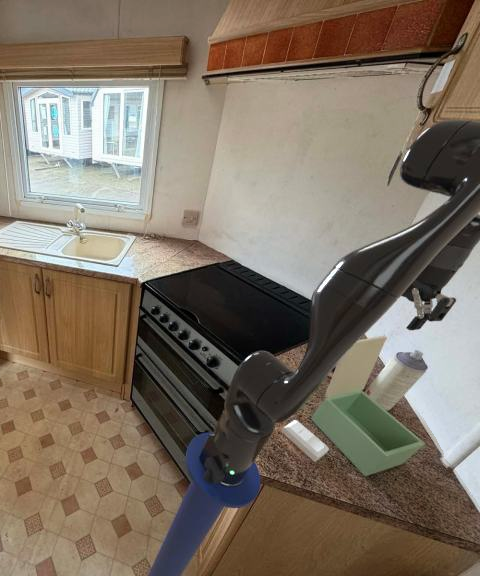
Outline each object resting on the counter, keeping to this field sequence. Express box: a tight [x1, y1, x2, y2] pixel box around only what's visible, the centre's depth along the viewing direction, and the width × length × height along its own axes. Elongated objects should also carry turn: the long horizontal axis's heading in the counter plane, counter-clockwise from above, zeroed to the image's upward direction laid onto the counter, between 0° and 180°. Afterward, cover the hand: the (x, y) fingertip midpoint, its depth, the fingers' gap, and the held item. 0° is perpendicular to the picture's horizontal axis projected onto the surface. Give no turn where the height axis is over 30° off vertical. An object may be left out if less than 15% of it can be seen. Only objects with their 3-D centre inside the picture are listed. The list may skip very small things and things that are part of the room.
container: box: [310, 390, 426, 477], centre depth 78 cm, size 16×13×9 cm
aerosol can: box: [363, 349, 429, 412], centre depth 86 cm, size 7×7×20 cm
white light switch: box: [280, 419, 330, 463], centre depth 78 cm, size 5×9×3 cm, turn 29°
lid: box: [324, 335, 388, 398], centre depth 78 cm, size 16×13×1 cm
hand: (393, 318), depth 76 cm, fingers open, 8 cm apart
